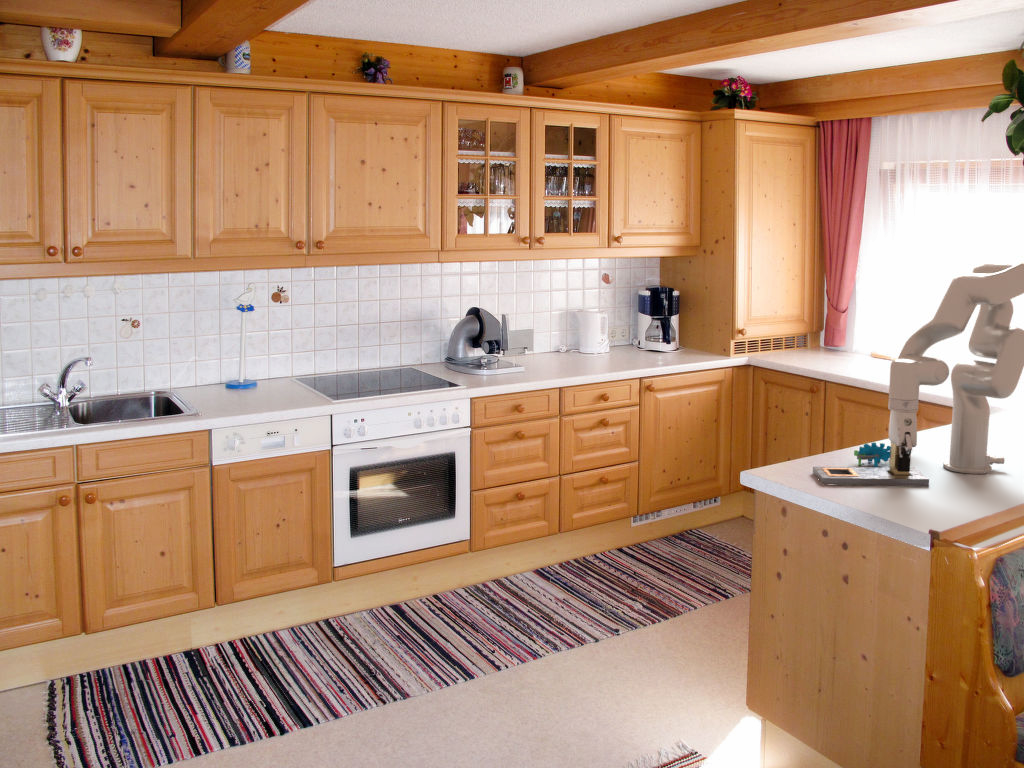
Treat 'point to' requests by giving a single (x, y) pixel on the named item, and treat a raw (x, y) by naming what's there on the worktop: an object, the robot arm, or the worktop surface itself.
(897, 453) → the peg
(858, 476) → the rail plate
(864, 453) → the gear
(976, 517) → the worktop surface
